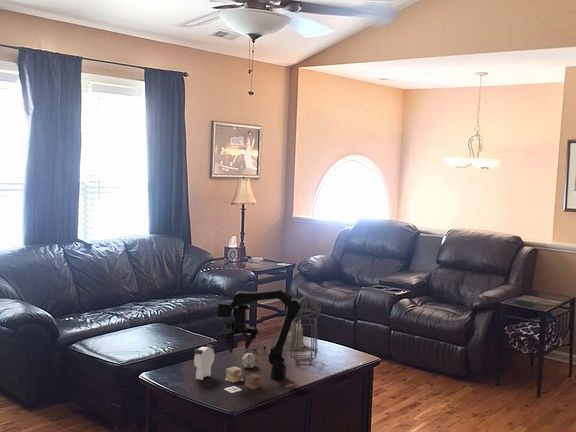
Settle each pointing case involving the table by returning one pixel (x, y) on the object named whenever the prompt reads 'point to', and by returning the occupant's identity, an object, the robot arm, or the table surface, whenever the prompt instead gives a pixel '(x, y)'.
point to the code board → (233, 388)
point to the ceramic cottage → (289, 337)
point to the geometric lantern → (311, 330)
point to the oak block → (233, 374)
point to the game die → (249, 360)
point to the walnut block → (253, 381)
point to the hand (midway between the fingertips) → (238, 351)
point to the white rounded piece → (203, 361)
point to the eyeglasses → (256, 351)
